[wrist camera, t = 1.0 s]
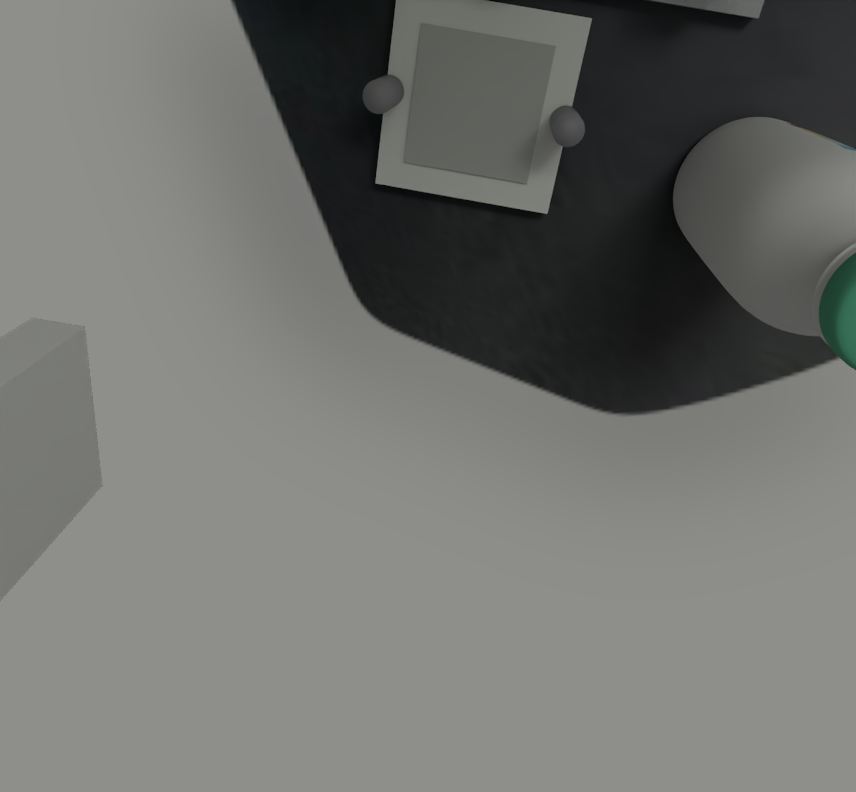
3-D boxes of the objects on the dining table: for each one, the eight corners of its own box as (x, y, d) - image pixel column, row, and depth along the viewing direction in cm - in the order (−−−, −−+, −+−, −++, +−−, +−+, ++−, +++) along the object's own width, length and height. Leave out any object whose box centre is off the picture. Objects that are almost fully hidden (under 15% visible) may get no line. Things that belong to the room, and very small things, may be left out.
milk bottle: (670, 263, 43) (775, 433, 25) (669, 125, 39) (790, 212, 22) (810, 247, 42) (1024, 416, 24) (822, 104, 38) (1082, 177, 21)
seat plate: (389, -16, 38) (373, -20, 34) (601, 20, 38) (611, 20, 34) (368, 178, 43) (352, 194, 39) (556, 211, 42) (560, 231, 38)
